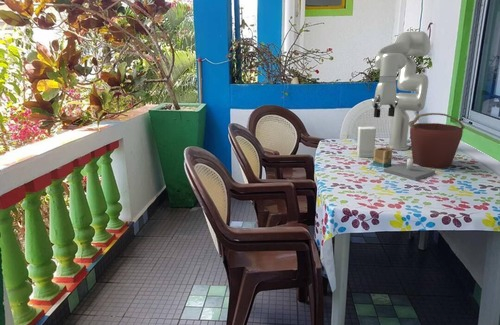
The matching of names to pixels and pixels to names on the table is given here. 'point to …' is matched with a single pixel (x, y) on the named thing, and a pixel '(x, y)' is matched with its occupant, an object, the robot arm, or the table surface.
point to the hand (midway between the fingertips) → (383, 116)
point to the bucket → (434, 142)
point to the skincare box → (366, 141)
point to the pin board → (409, 170)
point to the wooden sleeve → (382, 157)
